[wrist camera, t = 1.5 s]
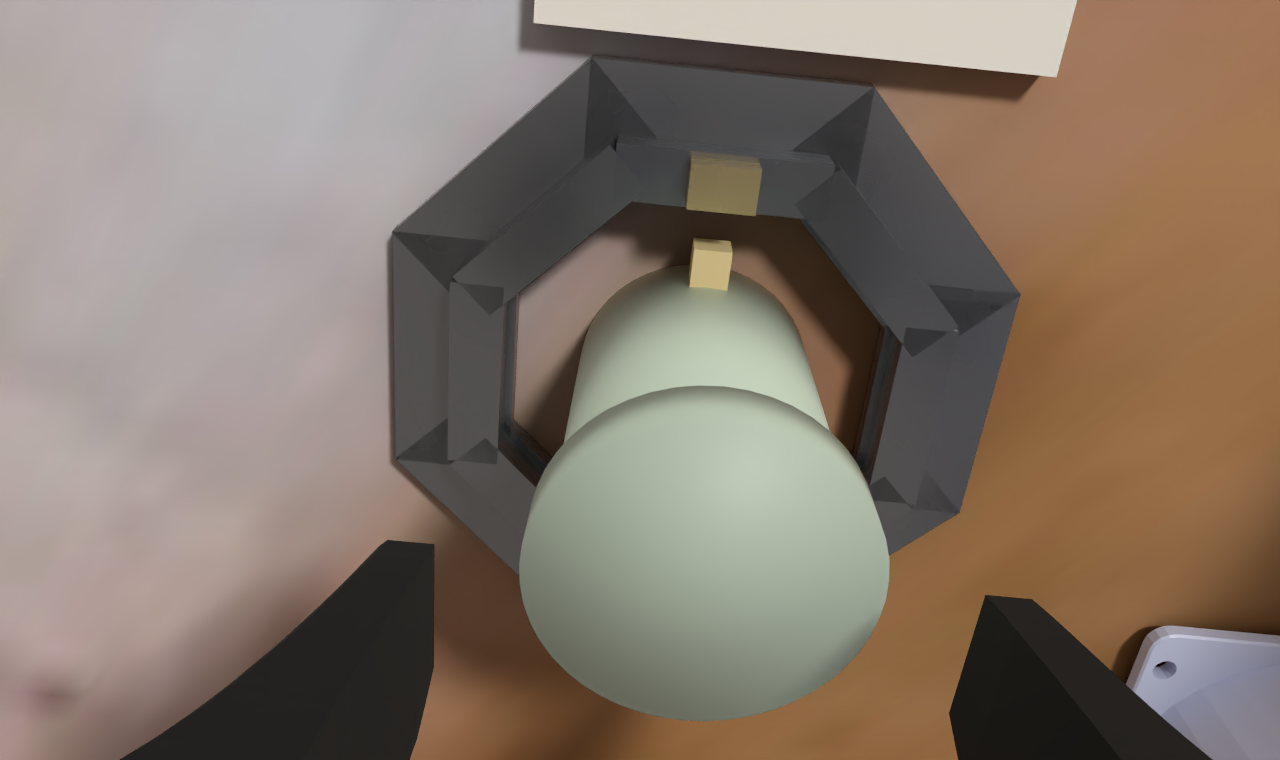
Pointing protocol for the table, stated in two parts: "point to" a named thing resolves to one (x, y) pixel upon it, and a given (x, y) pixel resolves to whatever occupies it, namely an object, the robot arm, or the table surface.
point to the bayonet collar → (705, 181)
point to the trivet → (848, 27)
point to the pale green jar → (701, 508)
